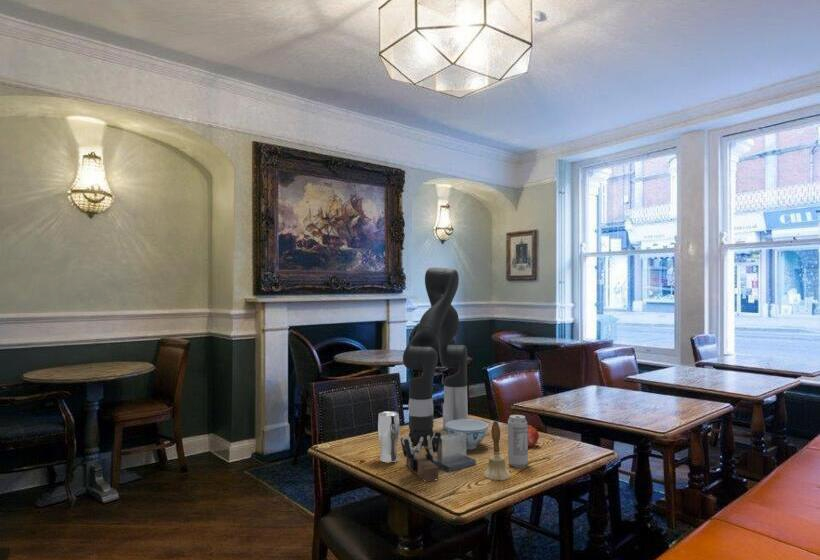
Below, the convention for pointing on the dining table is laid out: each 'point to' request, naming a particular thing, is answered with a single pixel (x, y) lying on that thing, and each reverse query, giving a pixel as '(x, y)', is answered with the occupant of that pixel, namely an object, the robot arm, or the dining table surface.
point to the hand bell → (496, 459)
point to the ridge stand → (453, 453)
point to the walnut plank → (425, 468)
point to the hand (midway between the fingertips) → (421, 468)
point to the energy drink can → (517, 441)
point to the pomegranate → (532, 435)
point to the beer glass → (388, 435)
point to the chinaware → (468, 430)
